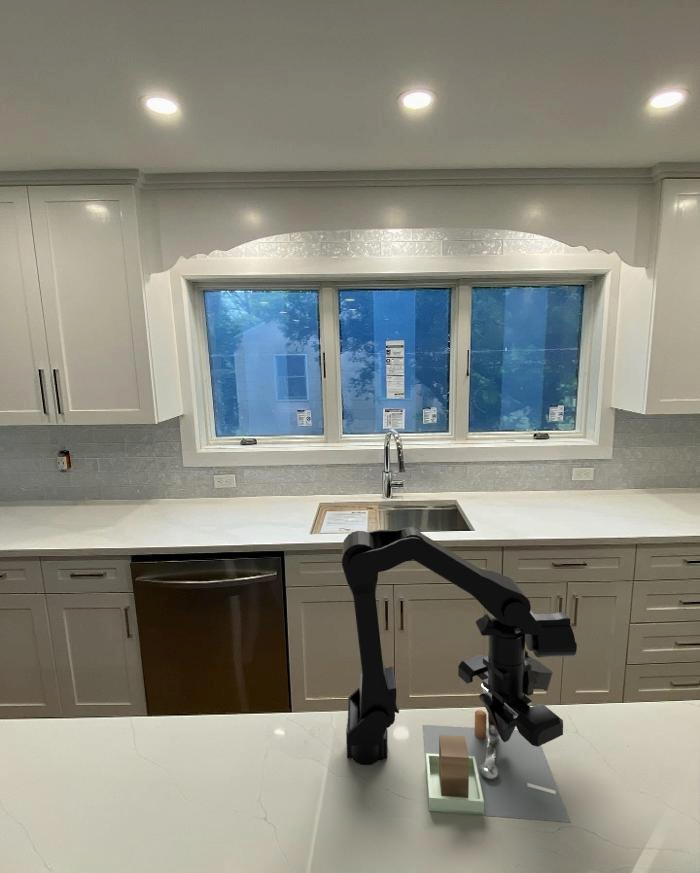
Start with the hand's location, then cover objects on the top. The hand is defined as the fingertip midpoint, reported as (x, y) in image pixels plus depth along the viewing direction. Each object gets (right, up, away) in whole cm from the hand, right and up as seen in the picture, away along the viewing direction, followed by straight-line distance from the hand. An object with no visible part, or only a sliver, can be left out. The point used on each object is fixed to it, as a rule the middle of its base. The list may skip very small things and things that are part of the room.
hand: (505, 740), depth 77 cm
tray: (-10, -3, -7) cm, 13 cm away
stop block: (-10, -3, -7) cm, 13 cm away
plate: (-4, -4, -3) cm, 6 cm away
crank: (-3, -2, -1) cm, 3 cm away
